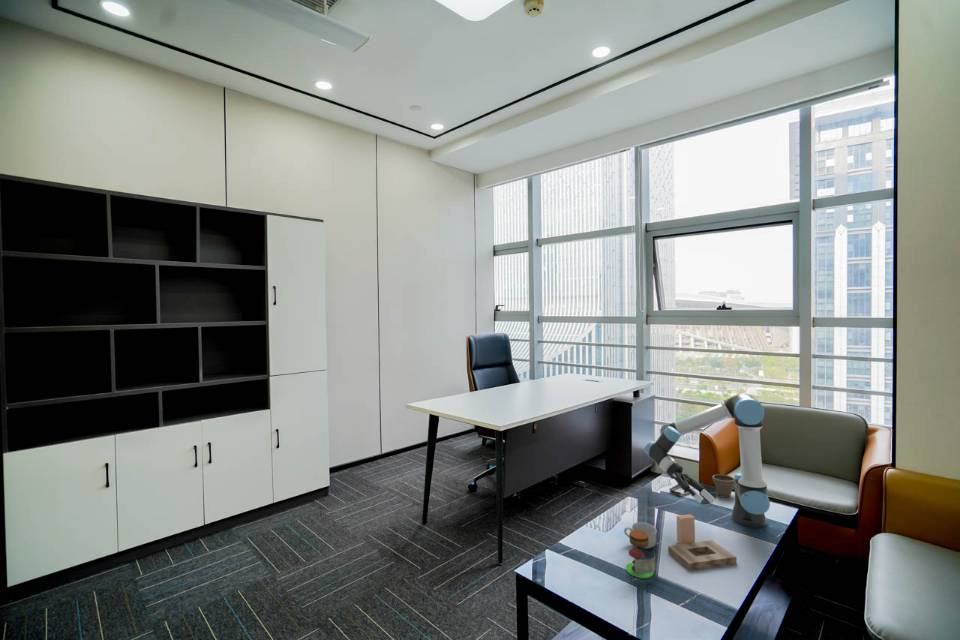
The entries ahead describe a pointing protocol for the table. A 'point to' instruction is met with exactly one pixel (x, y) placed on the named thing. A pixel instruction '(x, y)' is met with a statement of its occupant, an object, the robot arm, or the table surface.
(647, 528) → the teacup
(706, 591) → the table surface
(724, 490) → the flower pot
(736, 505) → the robot arm
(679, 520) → the salmon rectangular block
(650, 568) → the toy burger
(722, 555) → the slotted rack
